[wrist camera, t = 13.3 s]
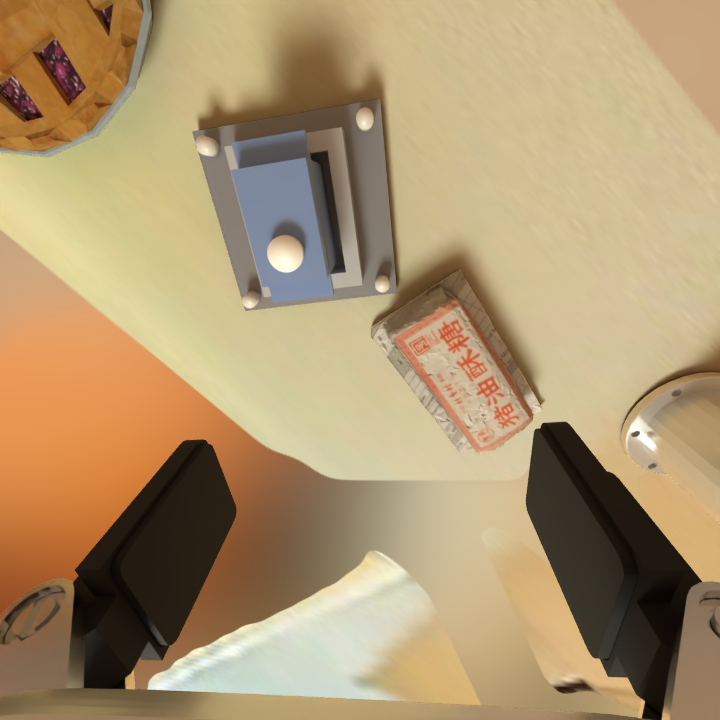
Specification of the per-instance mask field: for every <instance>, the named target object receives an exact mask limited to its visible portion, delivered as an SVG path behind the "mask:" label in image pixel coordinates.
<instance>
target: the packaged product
mask: <svg viewBox="0 0 720 720" xmlns="http://www.w3.org/2000/svg"><path fill="white" fill-rule="evenodd" d="M371 337H372V339H373V340H374V341H375V342H376V343H377V345H378V346H379V347H380V349H381V350H382V351H383V353H384V354H385V355H386V356H387V358H388V359H389V360H390V362H391V363H392V364H393V365H394V367H395V368H396V369H397V371H398V372H399V373H400V374H401V376H402V377H403V379H404V380H405V381H406V383H407V384H408V385H409V387H410V388H411V390H412V391H413V392H414V394H415V395H416V396H417V397H418V398H419V400H420V401H421V402H422V404H423V405H424V406H425V408H426V409H427V410H428V411H429V413H430V414H431V415H432V417H433V418H434V419H435V421H436V422H437V423H438V425H439V426H440V427H441V429H442V430H443V431H444V433H445V434H446V435H447V437H448V438H449V439H450V440H451V442H452V443H453V444H454V446H455V447H456V448H457V450H458V451H459V453H462V452H464V451H466V450H468V449H471V448H472V447H473V449H474V450H475V452H476V453H478V454H480V453H484V452H486V451H492V450H496V449H497V448H499V447H501V446H502V445H503V444H504V443H505V442H506V441H507V440H509V439H510V438H511V437H513V436H514V435H515V434H516V433H518V432H519V431H522V430H523V429H524V428H525V427H526V426H527V425H528V424H529V423H530V422H532V420H533V415H534V414H535V413H538V412H541V411H543V409H542V407H541V405H540V404H539V402H538V400H537V398H536V396H535V395H534V393H533V391H532V389H531V388H530V386H529V384H528V383H527V381H526V379H525V378H524V376H523V374H522V372H521V371H520V369H519V368H518V366H517V364H516V363H515V361H514V359H513V358H512V356H511V354H510V353H509V351H508V349H507V347H506V346H505V344H504V342H503V341H502V339H501V338H500V336H499V335H498V333H497V332H496V329H495V328H494V326H493V324H492V323H491V320H490V318H489V316H488V315H487V313H486V312H485V310H484V308H483V307H482V305H481V303H480V302H479V300H478V299H477V297H476V295H475V293H474V292H473V290H472V289H471V287H470V285H469V283H468V282H467V280H466V278H465V276H464V275H463V273H462V271H461V269H459V270H457V271H456V272H454V273H452V274H451V275H449V276H447V277H446V278H444V279H443V280H441V281H439V282H438V283H436V284H435V285H433V286H432V287H430V288H428V289H427V290H425V291H424V292H422V293H421V294H419V295H418V296H416V297H415V298H414V299H412V300H411V301H409V302H408V303H407V304H405V305H404V306H402V307H400V308H399V309H397V310H396V311H394V312H393V313H391V314H390V315H388V316H387V317H385V318H384V319H382V320H380V321H379V322H377V323H376V324H374V325H373V326H372V327H371Z"/></svg>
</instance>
